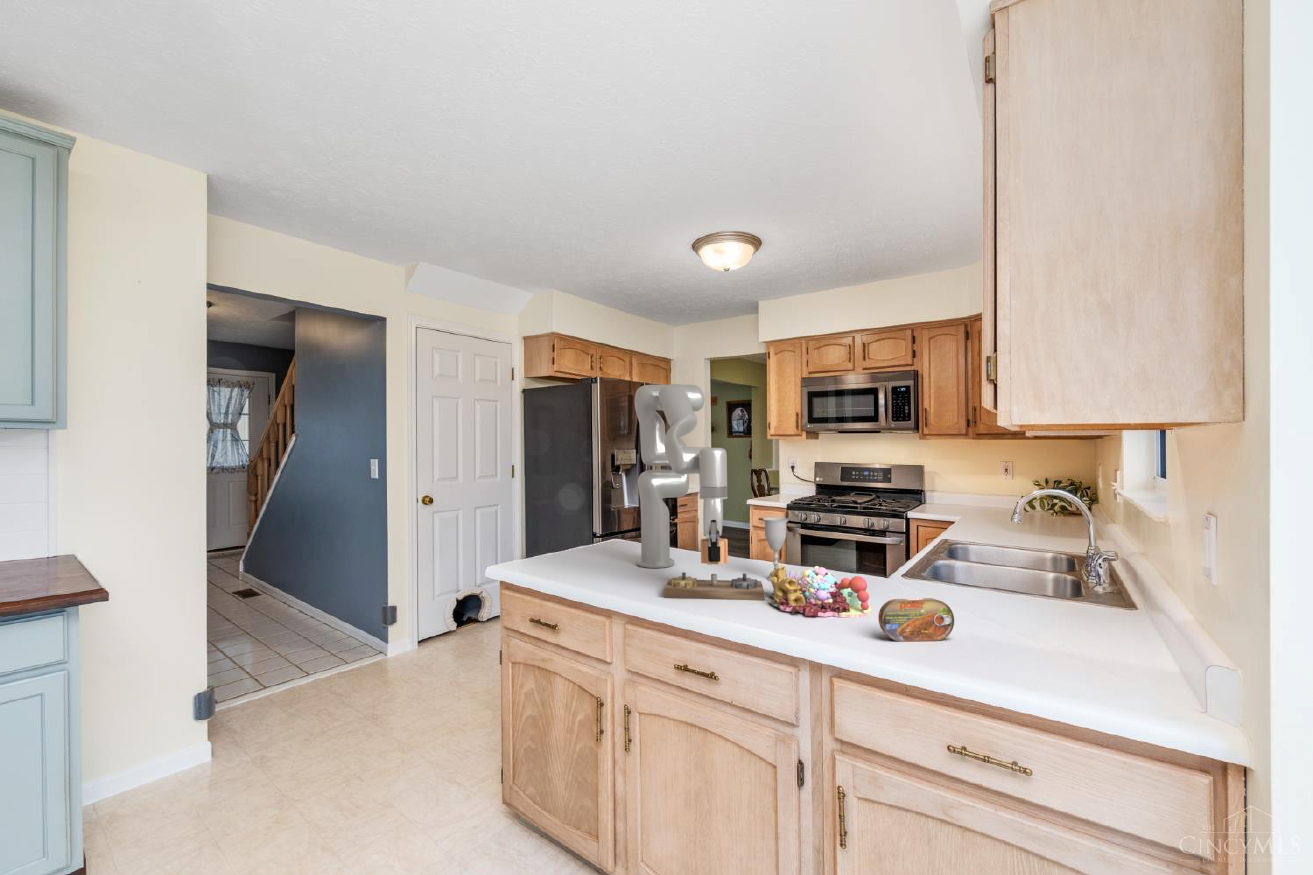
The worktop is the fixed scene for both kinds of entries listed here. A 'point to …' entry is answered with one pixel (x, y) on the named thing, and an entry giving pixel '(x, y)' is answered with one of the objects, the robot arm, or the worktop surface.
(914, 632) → the tin
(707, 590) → the gear board
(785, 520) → the chalice
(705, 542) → the gear
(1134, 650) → the worktop surface
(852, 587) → the coral reef model
